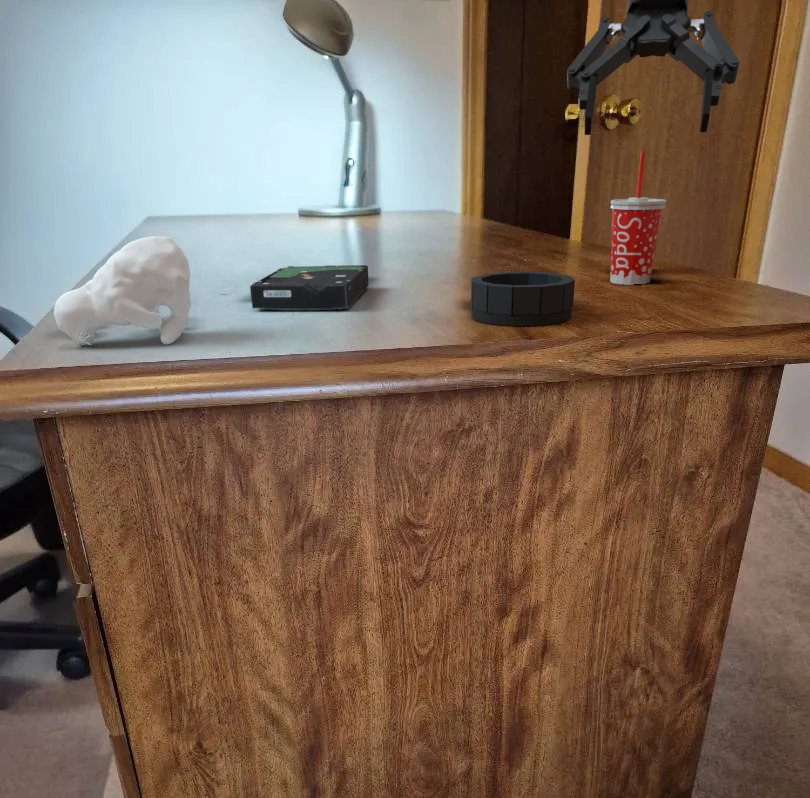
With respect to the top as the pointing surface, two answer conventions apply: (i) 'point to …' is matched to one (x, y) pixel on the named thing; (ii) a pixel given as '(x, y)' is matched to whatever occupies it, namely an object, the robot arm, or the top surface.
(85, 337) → the white lumpy figure
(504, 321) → the segmented ring
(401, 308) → the top surface
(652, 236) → the beverage cup
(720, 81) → the robot arm
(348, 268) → the disk drive
